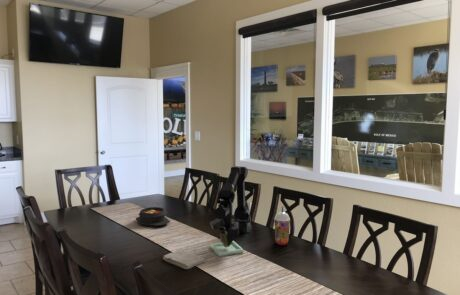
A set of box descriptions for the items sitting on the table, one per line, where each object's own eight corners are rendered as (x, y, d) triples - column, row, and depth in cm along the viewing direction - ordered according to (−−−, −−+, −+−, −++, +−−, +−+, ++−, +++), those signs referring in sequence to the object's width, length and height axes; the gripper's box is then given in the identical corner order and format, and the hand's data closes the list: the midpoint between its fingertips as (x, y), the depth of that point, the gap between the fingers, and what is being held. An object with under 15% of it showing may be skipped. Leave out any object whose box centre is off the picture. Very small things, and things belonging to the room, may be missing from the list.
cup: (233, 243, 191) (233, 228, 190) (234, 249, 184) (234, 233, 183) (219, 243, 191) (219, 228, 190) (219, 249, 183) (219, 233, 183)
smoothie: (277, 246, 192) (278, 209, 190) (271, 241, 200) (272, 205, 198) (292, 245, 194) (293, 208, 192) (285, 240, 202) (286, 204, 200)
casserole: (177, 223, 231) (177, 210, 230) (153, 231, 217) (152, 217, 216) (152, 216, 247) (152, 203, 246) (128, 222, 233) (128, 209, 232)
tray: (210, 247, 191) (210, 243, 191) (233, 244, 196) (233, 240, 196) (218, 256, 179) (218, 253, 179) (243, 252, 184) (243, 249, 184)
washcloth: (179, 253, 184) (179, 247, 184) (205, 262, 173) (205, 256, 173) (161, 260, 175) (161, 254, 175) (187, 271, 164) (187, 264, 164)
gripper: (205, 210, 191) (205, 239, 193) (217, 220, 174) (218, 252, 175) (225, 208, 195) (225, 236, 197) (239, 217, 178) (239, 248, 180)
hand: (226, 243), depth 187 cm, fingers closed on cup, 6 cm apart
